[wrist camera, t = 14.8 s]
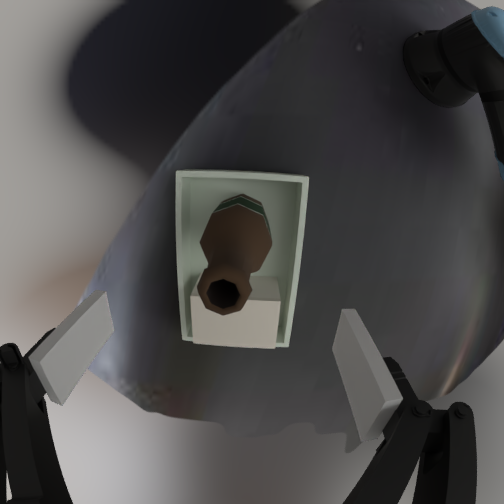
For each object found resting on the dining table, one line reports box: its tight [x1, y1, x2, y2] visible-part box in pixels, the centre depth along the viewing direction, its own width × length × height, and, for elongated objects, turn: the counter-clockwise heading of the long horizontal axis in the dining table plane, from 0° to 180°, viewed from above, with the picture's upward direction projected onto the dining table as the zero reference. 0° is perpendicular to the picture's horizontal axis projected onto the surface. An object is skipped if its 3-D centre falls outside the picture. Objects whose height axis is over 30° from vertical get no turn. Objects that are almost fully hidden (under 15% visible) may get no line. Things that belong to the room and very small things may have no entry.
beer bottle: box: [197, 194, 272, 316], centre depth 29 cm, size 8×8×24 cm
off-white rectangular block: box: [190, 272, 281, 349], centre depth 41 cm, size 12×8×8 cm, turn 87°
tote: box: [176, 169, 309, 347], centre depth 40 cm, size 17×26×6 cm, turn 177°
